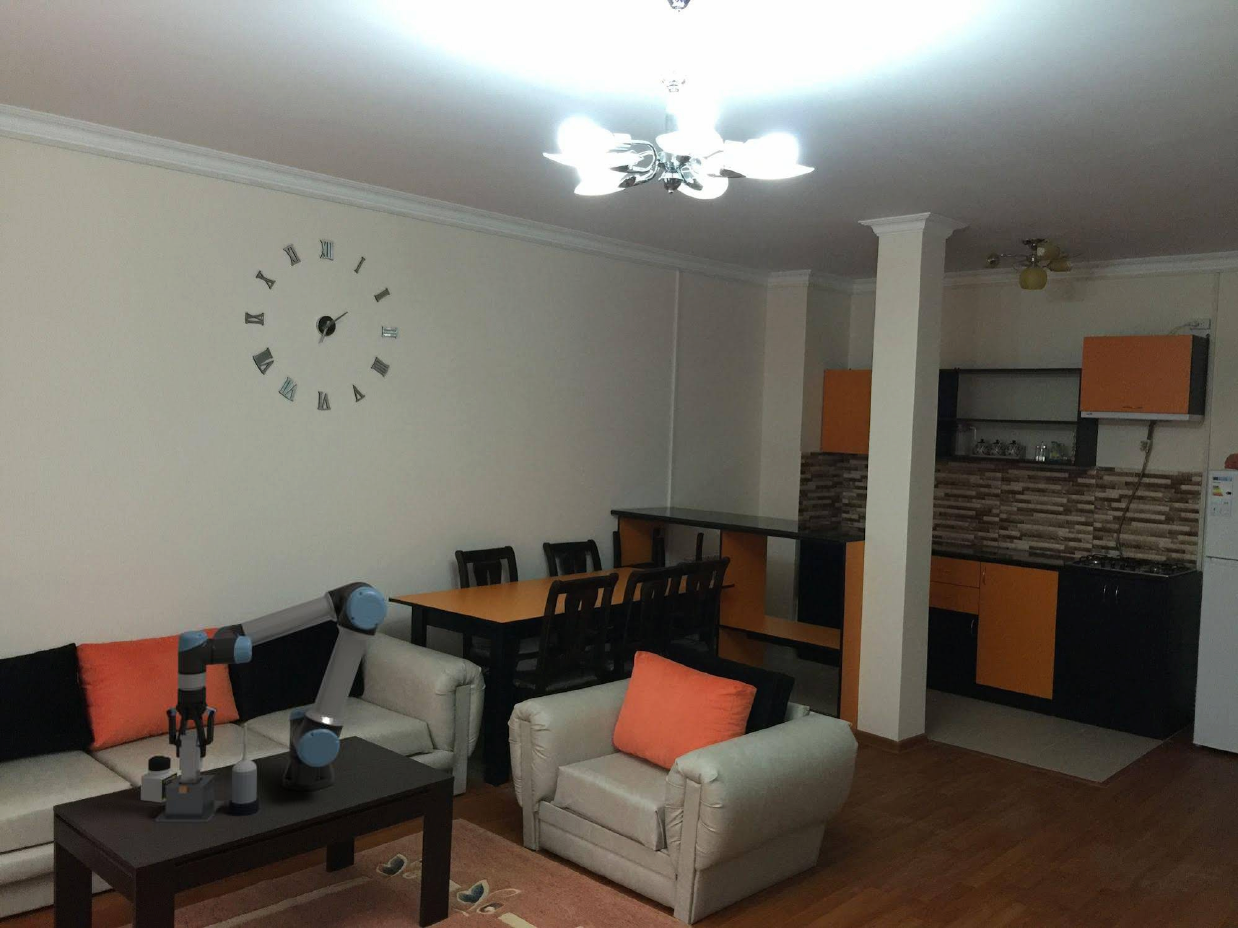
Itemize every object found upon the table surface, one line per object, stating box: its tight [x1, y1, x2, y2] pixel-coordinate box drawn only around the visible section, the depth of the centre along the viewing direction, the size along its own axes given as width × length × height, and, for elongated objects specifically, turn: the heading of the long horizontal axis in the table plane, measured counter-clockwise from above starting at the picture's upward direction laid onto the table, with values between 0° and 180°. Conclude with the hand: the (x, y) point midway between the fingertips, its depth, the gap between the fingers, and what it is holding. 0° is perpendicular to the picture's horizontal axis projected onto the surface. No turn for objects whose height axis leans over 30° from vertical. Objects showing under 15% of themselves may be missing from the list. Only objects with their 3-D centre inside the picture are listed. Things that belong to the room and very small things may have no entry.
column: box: [180, 730, 202, 785], centre depth 291 cm, size 5×5×21 cm
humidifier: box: [228, 723, 260, 817], centre depth 293 cm, size 8×8×25 cm
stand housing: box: [154, 774, 225, 823], centre depth 291 cm, size 14×14×9 cm
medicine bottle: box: [140, 754, 178, 803], centre depth 302 cm, size 7×7×12 cm
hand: (191, 768), depth 291 cm, fingers closed on column, 4 cm apart
